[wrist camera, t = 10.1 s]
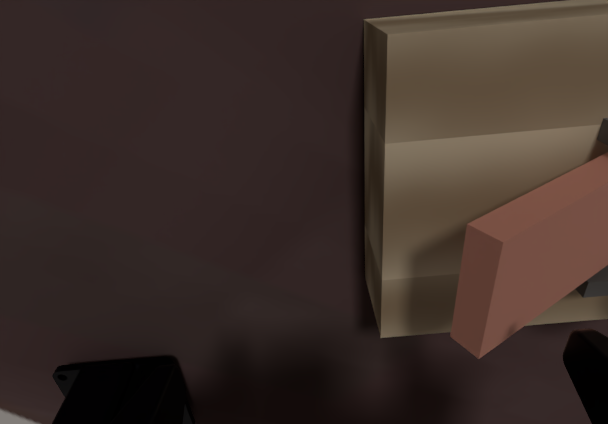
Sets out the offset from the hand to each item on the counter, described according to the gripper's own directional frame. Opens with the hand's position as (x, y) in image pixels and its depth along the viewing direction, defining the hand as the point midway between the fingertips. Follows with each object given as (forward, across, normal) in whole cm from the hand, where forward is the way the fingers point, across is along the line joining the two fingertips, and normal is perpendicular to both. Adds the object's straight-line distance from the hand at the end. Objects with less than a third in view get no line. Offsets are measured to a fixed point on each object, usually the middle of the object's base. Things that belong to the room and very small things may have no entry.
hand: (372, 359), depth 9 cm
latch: (+5, -9, 0) cm, 10 cm away
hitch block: (+10, -9, 0) cm, 14 cm away
